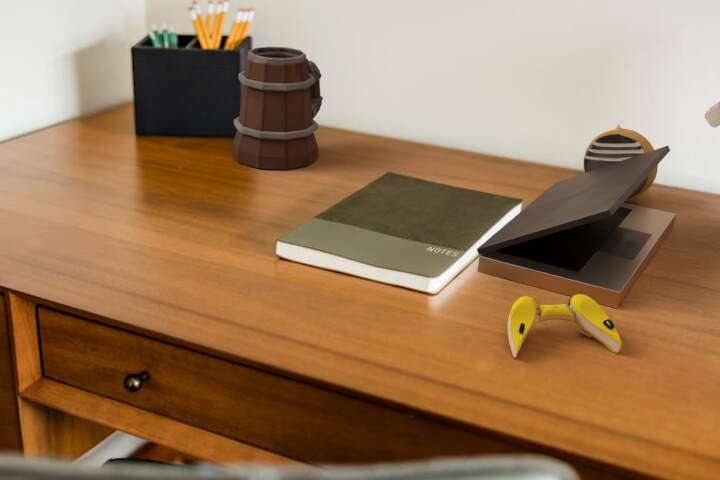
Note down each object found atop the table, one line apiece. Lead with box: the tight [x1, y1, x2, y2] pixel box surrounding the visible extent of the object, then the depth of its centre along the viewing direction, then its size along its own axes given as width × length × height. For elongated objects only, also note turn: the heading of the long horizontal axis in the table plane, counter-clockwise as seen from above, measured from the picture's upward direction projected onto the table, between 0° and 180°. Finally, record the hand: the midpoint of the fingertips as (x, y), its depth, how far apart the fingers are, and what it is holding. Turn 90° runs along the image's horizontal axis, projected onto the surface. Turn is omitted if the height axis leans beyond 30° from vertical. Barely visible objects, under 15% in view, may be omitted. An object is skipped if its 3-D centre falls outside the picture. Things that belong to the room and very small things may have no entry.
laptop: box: [477, 202, 677, 309], centre depth 103 cm, size 15×26×2 cm, turn 150°
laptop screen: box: [476, 145, 671, 256], centre depth 101 cm, size 15×26×1 cm, turn 149°
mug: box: [232, 46, 324, 171], centre depth 127 cm, size 16×12×15 cm
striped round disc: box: [583, 123, 659, 202], centre depth 117 cm, size 9×4×10 cm, turn 51°
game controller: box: [506, 294, 623, 359], centre depth 82 cm, size 10×6×4 cm, turn 100°
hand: (710, 119), depth 91 cm, fingers closed
